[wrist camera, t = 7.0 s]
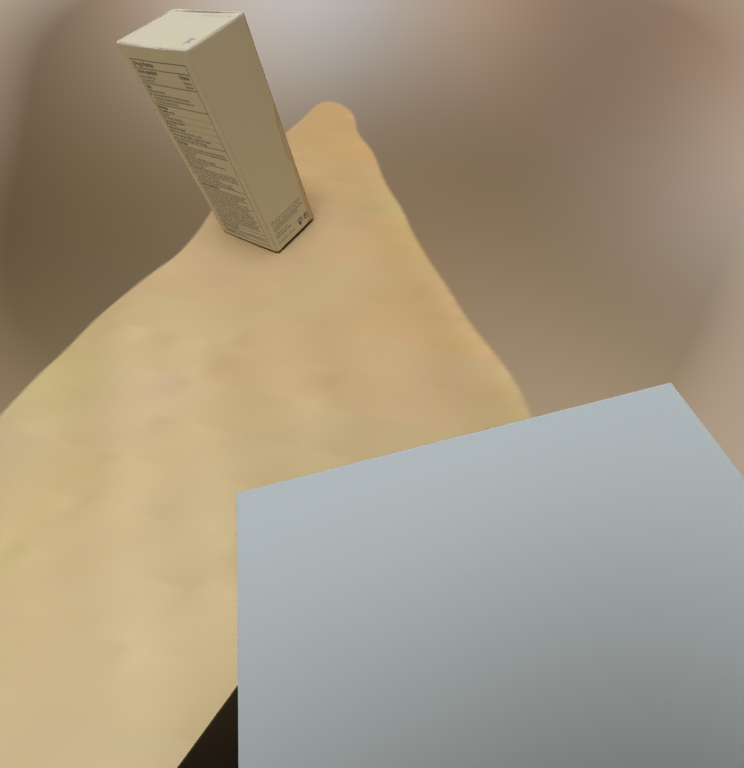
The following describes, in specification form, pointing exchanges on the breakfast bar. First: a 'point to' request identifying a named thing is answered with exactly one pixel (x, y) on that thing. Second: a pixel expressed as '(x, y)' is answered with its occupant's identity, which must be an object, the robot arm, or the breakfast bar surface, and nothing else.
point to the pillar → (501, 600)
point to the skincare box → (222, 120)
